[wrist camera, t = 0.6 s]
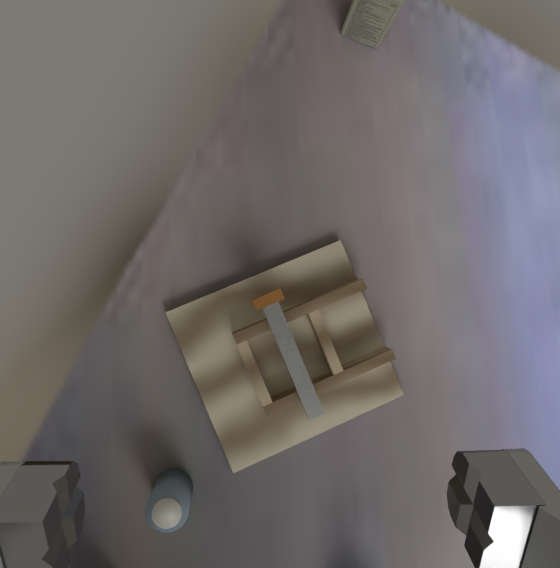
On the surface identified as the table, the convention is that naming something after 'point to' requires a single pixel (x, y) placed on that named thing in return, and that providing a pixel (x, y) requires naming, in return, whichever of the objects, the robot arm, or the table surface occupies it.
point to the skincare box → (370, 20)
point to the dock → (268, 361)
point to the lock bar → (289, 351)
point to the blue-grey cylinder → (169, 501)
